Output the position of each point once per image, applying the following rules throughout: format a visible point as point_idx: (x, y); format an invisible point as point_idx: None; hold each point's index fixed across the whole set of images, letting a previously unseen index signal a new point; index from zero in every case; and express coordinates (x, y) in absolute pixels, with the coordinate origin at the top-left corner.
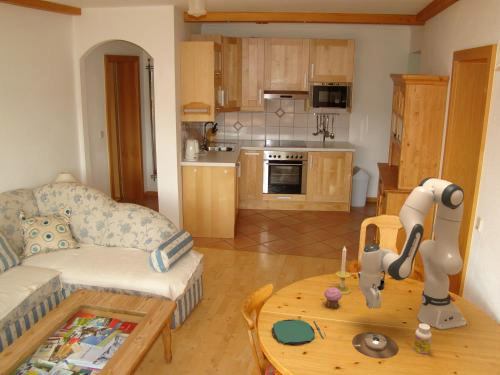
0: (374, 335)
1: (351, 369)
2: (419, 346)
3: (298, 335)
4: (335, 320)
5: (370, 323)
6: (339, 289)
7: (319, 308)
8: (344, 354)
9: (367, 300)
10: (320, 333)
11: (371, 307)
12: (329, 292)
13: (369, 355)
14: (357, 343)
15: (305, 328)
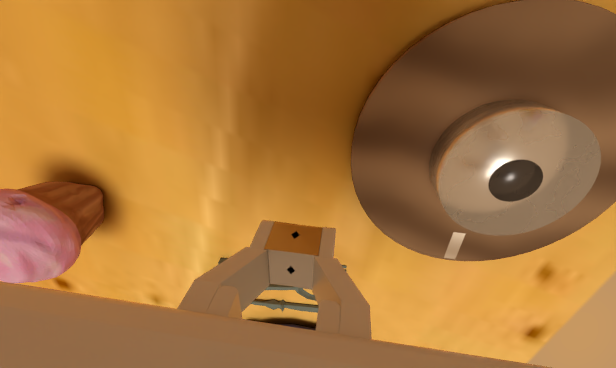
0: (467, 170)
1: (576, 303)
2: None
3: None
4: (211, 229)
5: (231, 70)
6: None
7: (123, 250)
8: (468, 288)
9: (245, 296)
10: (311, 309)
11: (334, 241)
12: (31, 279)
13: (563, 228)
14: (438, 237)
15: None
